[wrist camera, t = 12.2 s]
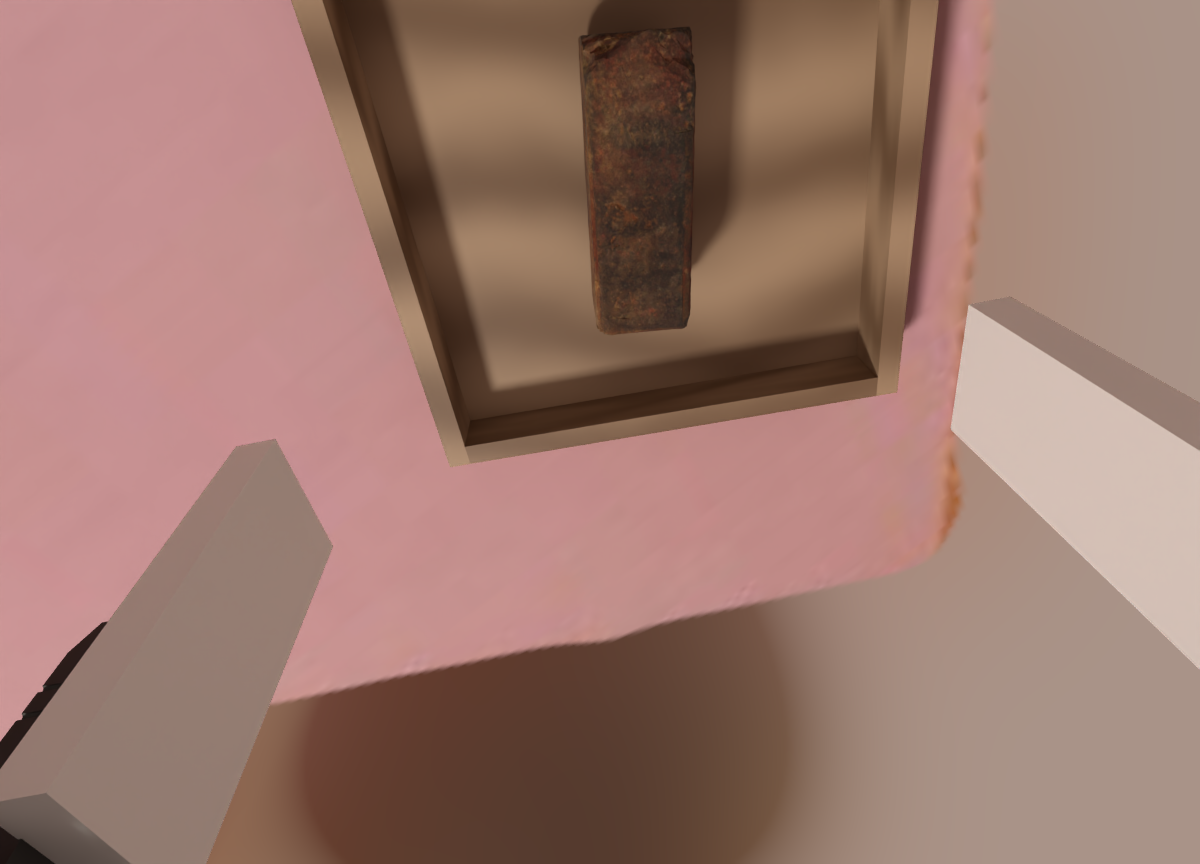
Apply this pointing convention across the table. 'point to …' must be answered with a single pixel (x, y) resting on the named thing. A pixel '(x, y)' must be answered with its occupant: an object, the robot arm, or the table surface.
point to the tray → (560, 214)
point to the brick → (639, 175)
